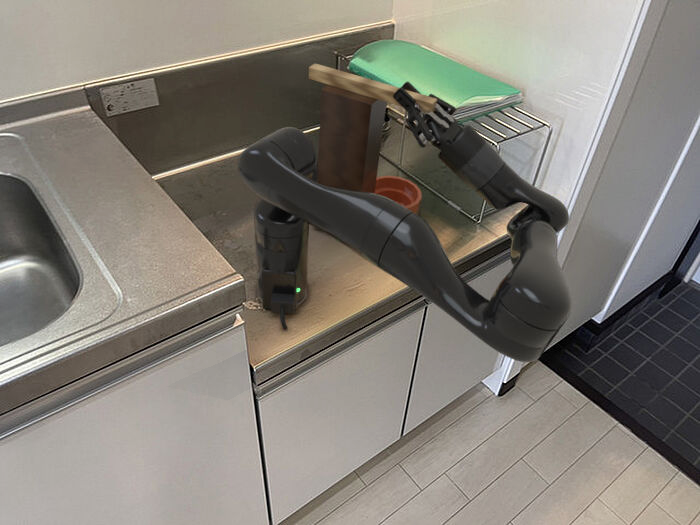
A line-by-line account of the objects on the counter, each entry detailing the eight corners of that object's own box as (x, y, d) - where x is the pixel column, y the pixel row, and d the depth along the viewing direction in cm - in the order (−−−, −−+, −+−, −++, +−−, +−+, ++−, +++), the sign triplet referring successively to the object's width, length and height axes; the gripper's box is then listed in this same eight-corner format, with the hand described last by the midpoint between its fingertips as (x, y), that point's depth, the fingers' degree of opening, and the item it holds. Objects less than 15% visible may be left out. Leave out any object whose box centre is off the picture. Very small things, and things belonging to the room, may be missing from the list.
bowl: (418, 232, 120) (423, 211, 116) (361, 228, 120) (364, 206, 116) (415, 199, 129) (419, 178, 125) (363, 194, 129) (365, 173, 125)
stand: (370, 227, 120) (388, 90, 98) (355, 245, 115) (371, 104, 94) (330, 212, 123) (339, 76, 101) (315, 229, 118) (321, 89, 97)
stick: (434, 110, 94) (437, 98, 92) (430, 115, 92) (432, 103, 91) (314, 74, 101) (315, 63, 99) (308, 78, 99) (308, 67, 98)
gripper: (444, 189, 93) (370, 118, 91) (469, 154, 102) (402, 89, 101) (473, 163, 87) (396, 87, 86) (497, 128, 97) (427, 59, 95)
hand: (400, 88), depth 93 cm, fingers closed on stick, 2 cm apart
